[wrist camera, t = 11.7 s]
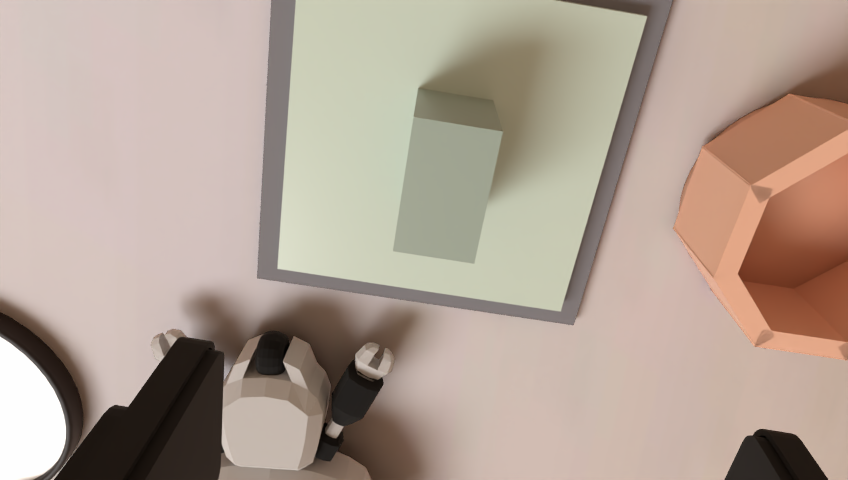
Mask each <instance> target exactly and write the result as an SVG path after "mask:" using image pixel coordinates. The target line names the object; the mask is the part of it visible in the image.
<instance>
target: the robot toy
mask: <svg viewBox="0 0 848 480" xmlns="http://www.w3.org/2000/svg"><path fill="white" fill-rule="evenodd" d="M179 337H187V336H186V335H185V334H184V333H183V332H182V331H181V330H176V329H172V330H169V331H167V333H166V334H165V335H164V334H163V333H161V334H158V335H156V336H155V337H154V338H153V340H152V342H151V348H152V351H153V354H154V357H155V359H157V360H158V361H160V362H161V361H162V359H163V358H164V356H165V355H166V354H167V352H168V351H169V349H170V348H171V347H172V345H173V344H174V342H175V341H176V340H177V339H178V338H179ZM187 338H188V337H187ZM378 350H379V345H378V344H376V343H367V344H365V345H364V346H363V347H362V348H361V349H360V350H359V351H358V352H357V353H356V354H355V360H353V361H352V362H351V363H350V365H349V366H348V367H347V369H346V371H345V372H344V374H343V376H342V377H341V379H340V381H339V383H338V384H337V386H336V388H335V389H334V391H333V393H332V418H331V420H330V421H329V423H324V422H325V418H326V413H327V409H328V403H329V396H330V389H331V384H330V382H329V379H328V376H327V374H326V371H325V370H324V369H323V368H322V367H321V366H320V365H319V364H318V363H317V361H316V358H315V356H314V353H313V351H312V349H311V346H310V344H309V343H307V342H305V341H303V340H301V339H299V338H297V337H295V336H293V339H292V341H291V343H289V338H288V337H287V336H286V335H285V334H283V333H281V332H277V331H269V332H266V333H264V334H262V335H259V336H257V337H254V338H252V339H249V340H248V341H247V343H246V344H245V346H244V348H243V350H242V352H241V353H240V355H239V357H238V359H237V361H236V362H235V364H234V365H233V366H232V368H231V370H230V371H229V373H228V375H227V377H226V379H225V380H224V382H223V413H222V447H221V469H220V475H219V479H218V480H371V478H370V476H369V473H368V471H367V469H366V467H364V466H363V465H361V464H360V463H358V462H357V461H355V460H354V459H352V458H351V457H349V456H346V455H344V454H342V453H339V452H337V450H338V449H339V447H340V446H341V444H342V442H343V441H344V440H343V432H342V431H341V430H342V429H343V427H344V426H346V425H349V424H352V423H354V422H356V421H358V420H360V419H362V418H363V417H364V415H365V414H366V412H367V410H368V409H369V407H370V405H371V404H372V402H373V401H374V399H375V397H376V396H377V394H378V392H379V391H380V389H381V388H382V386H383V378H382V377H383V376H385V375H387V374H388V373H390V372H391V371H392V368H393V364H394V361H395V359H394V357H393V355H392V353H391V351H390V350H389V349H387V348H385V350H384V352H383V354H382V356H381V357H380V359H377V358H375V357H373V356H374V355H375V353H376V352H377V351H378Z"/></svg>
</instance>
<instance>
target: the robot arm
mask: <svg viewBox="0 0 848 480" xmlns="http://www.w3.org/2000/svg"><path fill="white" fill-rule="evenodd" d="M223 380H224V353H223V352H222V351H216V350H215V346H214V343H213V342H212V341H206V340H200V339H194V338H187V337H179V338H178V339H177V340H176V341H175V342H174V344H173V345H172V347H171V348H170V349H169V351H168V352H167V354H166V355H165V356H164V358H163V359H162V361H161V362H160V363H159V365H158V366H157V368H156V369H155V370H154V372H153V373H152V375H151V376H150V377H149V379H148V380H147V382H146V383H145V384H144V386H143V387H142V389H141V390H140V391H139V393H138V394H137V396H136V397H135V398H134V400H133V401H132V403H131V404H130V405H129V407H125V406H118V405H114V406H112V407H110V408H109V409H108V410H107V411H106V412H105V413H104V414H103V416H102V417H101V418H100V420H99V421H98V422H97V424H96V425H95V426H94V428H93V429H92V430H91V432H90V433H89V434H88V436H87V437H86V438H85V439H84V441H83V442H82V443H81V445H80V446H79V447H78V449H77V450H76V451H75V453H74V454H73V455H72V457H71V458H70V459H69V461H68V462H67V463H66V465H65V466H64V467H63V469H62V470H61V471H60V473H59V474H58V475H57V476H56V478H55V479H54V480H218V479H219V475H220V469H221V447H222V413H223ZM725 480H828V478H827V477H826V476H825V474H824V473H823V471H822V470H821V468H820V467H819V465H818V464H817V463H816V461H815V460H814V458H813V457H812V455H811V454H810V453H809V451H808V450H807V448H806V447H805V445H804V444H803V442H802V441H801V440H800V439H799V438H798V436H796V435H794V434H791V433H785V432H779V431H773V430H766V429H759V430H757V431H756V432H755V433H754V434H753V436H747V437H746V438H745V439H744V440H743V442H742V444H741V446H740V448H739V451H738V453H737V455H736V457H735V459H734V461H733V463H732V465H731V467H730V469H729V471H728V474H727V476H726V478H725Z"/></svg>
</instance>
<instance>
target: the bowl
mask: <svg viewBox="0 0 848 480" xmlns="http://www.w3.org/2000/svg"><path fill="white" fill-rule="evenodd" d="M673 229H674V230H675V232H676V233H677V234H678V236H679V238H680V239H681V241H682V243H683V244H684V246H685V247H686V249H687V251H688V253H689V255H690V256H691V258H692V259H693V260H694V262H695V264H696V265H697V267H698V268H699V270H700V272H701V273H702V275H703V277H704V278H705V280H706V281H707V283H708V285H709V286H710V289H711V290H712V292H713V293H714V294H715V295H716V297H717V298H718V299H719V301H720V302H721V303H722V305H723V306H724V307H725V309H726V310H727V311H728V312H729V314H730V315H731V316H732V318H733V319H734V320H735V322H736V323H737V324H738V326H739V327H740V328H741V329H742V331H743V332H744V333H745V335H746V336H747V337H748V339H749V340H750V341H751V343H752V344H753V345H754V346H755V347H762V348H769V349H775V350H782V351H789V352H795V353H802V354H809V355H816V356H822V357H829V358H836V359H842V360H845V361H846V360H848V104H847V103H843V102H839V101H834V100H830V99H823V98H811V97H805V96H799V95H793V94H788V95H786V96H785V97H783V98H781V99H780V100H778V101H777V102H775V103H773V104H770V105H768V106H765V107H763V108H760V109H758V110H755V111H753V112H751V113H750V114H748V115H746V116H744V117H742V118H740V119H739V120H737V121H736V122H735V123H733V124H732V125H730V126H729V127H727V128H726V129H725V130H724V131H723V132H721V133H720V134H719V135H718V136H717V137H716V138H715V139H714V140H712V141H711V142H709V143H707V144H706V145H704V146H702V149H701V152H700V155H699V157H698V159H697V161H696V162H695V164H694V166H693V167H692V169H691V171H690V173H689V175H688V177H687V180H686V182H685V184H684V188H683V191H682V195H681V199H680V206H679V213H678V216H677V219H676V222H675V225H674V227H673Z"/></svg>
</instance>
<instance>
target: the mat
mask: <svg viewBox="0 0 848 480" xmlns="http://www.w3.org/2000/svg"><path fill="white" fill-rule="evenodd" d="M562 1H568V2H573V3H579V4H585V5H591V6H596V7H602V8H608V9H614V10H620V11H625V12H631V13H637V14H643V15H645V16H647V19H646V23H645V26H644V29H643V33H642V36H641V40H640V43H639V46H638V50H637V53H636V57H635V60H634V63H633V67H632V70H631V74H630V77H629V80H628V84H627V87H626V91H625V94H624V98H623V101H622V104H621V108H620V111H619V115H618V118H617V121H616V125H615V128H614V132H613V135H612V138H611V142H610V145H609V149H608V152H607V155H606V159H605V162H604V166H603V169H602V172H601V176H600V179H599V183H598V186H597V189H596V193H595V196H594V200H593V203H592V207H591V210H590V213H589V217H588V220H587V224H586V227H585V230H584V234H583V237H582V241H581V244H580V247H579V251H578V254H577V258H576V261H575V264H574V268H573V271H572V275H571V278H570V281H569V285H568V288H567V292H566V295H565V298H564V302H563V305H562V309H561V312H560V311H553V310H547V309H540V308H534V307H527V306H520V305H514V304H507V303H501V302H494V301H487V300H481V299H474V298H467V297H461V296H454V295H448V294H441V293H434V292H428V291H421V290H415V289H408V288H401V287H395V286H388V285H382V284H375V283H368V282H362V281H355V280H349V279H342V278H335V277H329V276H322V275H315V274H309V273H302V272H296V271H289V270H282V269H277V268H278V253H279V238H280V224H281V209H282V194H283V180H284V165H285V151H286V136H287V121H288V107H289V92H290V77H291V63H292V48H293V34H294V19H295V4H296V0H271V18H270V37H269V57H268V76H267V96H266V115H265V135H264V154H263V174H262V193H261V213H260V232H259V252H258V271H257V278H259V279H266V280H273V281H279V282H286V283H293V284H300V285H306V286H313V287H320V288H326V289H333V290H340V291H347V292H353V293H360V294H367V295H374V296H380V297H387V298H394V299H400V300H407V301H414V302H421V303H427V304H434V305H441V306H447V307H454V308H461V309H468V310H474V311H481V312H488V313H494V314H501V315H508V316H515V317H521V318H528V319H535V320H541V321H548V322H555V323H562V324H568V325H574V322H575V319H576V316H577V313H578V309H579V306H580V303H581V300H582V296H583V293H584V290H585V286H586V283H587V280H588V277H589V273H590V270H591V267H592V263H593V260H594V257H595V254H596V250H597V247H598V244H599V241H600V237H601V234H602V231H603V227H604V224H605V221H606V218H607V214H608V211H609V208H610V204H611V201H612V198H613V195H614V191H615V188H616V185H617V181H618V178H619V175H620V172H621V168H622V165H623V162H624V159H625V155H626V152H627V149H628V145H629V142H630V139H631V136H632V132H633V129H634V126H635V122H636V119H637V116H638V113H639V109H640V106H641V103H642V99H643V96H644V93H645V90H646V86H647V83H648V80H649V77H650V73H651V70H652V67H653V63H654V60H655V57H656V54H657V50H658V47H659V44H660V40H661V37H662V34H663V31H664V27H665V24H666V21H667V17H668V14H669V11H670V8H671V4H672V1H673V0H562Z"/></svg>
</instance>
